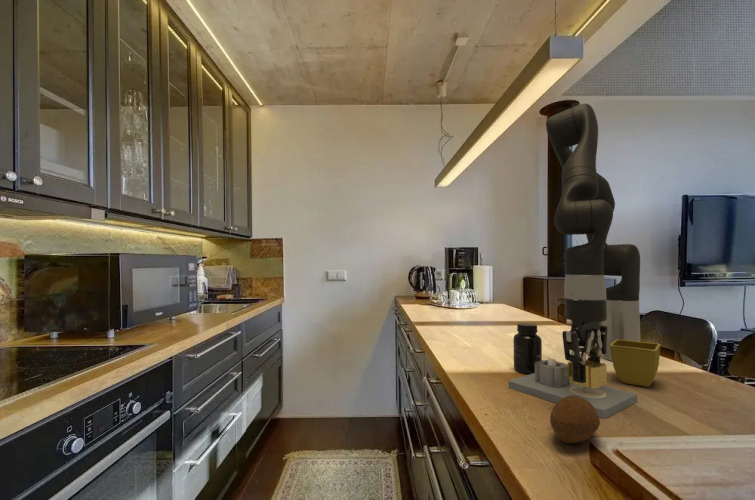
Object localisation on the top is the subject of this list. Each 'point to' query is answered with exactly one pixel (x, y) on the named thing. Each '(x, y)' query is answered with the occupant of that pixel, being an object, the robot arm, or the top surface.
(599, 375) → the brass gear
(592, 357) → the robot arm
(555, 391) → the pegboard
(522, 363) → the supplement bottle
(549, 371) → the steel gear
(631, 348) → the flower pot
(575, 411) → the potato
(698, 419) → the top surface
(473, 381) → the top surface
